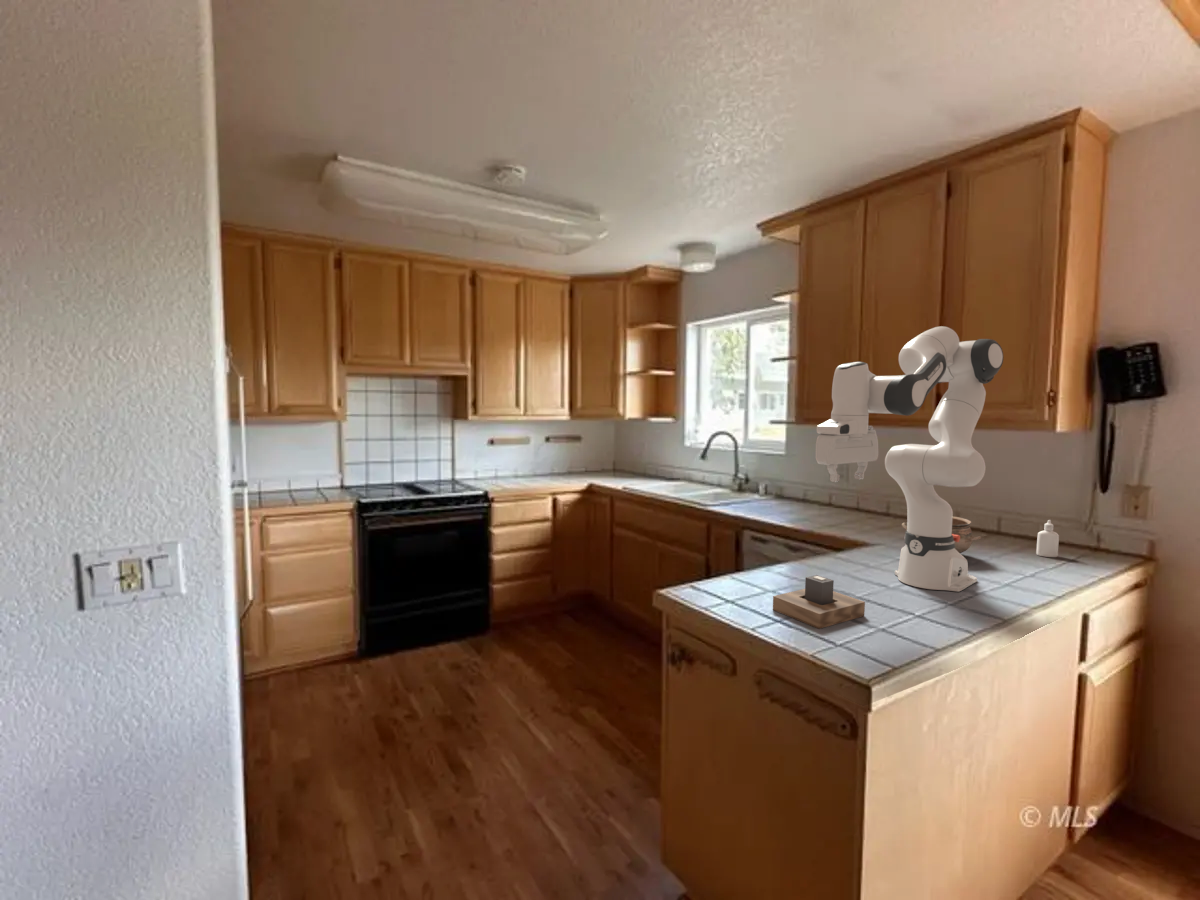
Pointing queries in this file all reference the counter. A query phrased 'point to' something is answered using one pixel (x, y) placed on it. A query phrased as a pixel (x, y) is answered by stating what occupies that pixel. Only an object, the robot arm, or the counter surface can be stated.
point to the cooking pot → (960, 533)
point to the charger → (819, 590)
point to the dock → (818, 608)
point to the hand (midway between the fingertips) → (846, 480)
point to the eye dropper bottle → (1047, 541)
